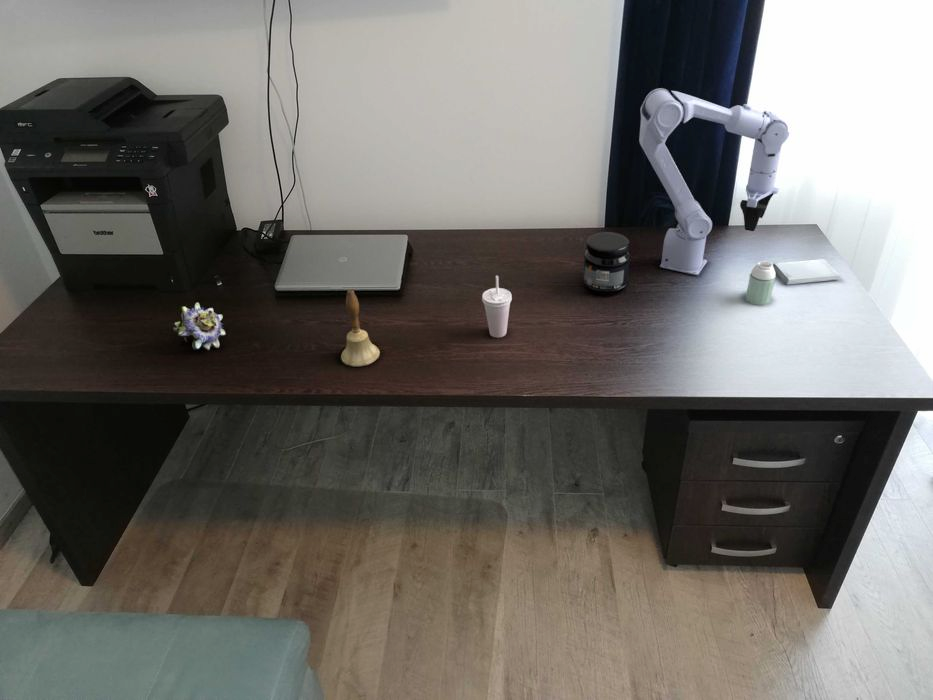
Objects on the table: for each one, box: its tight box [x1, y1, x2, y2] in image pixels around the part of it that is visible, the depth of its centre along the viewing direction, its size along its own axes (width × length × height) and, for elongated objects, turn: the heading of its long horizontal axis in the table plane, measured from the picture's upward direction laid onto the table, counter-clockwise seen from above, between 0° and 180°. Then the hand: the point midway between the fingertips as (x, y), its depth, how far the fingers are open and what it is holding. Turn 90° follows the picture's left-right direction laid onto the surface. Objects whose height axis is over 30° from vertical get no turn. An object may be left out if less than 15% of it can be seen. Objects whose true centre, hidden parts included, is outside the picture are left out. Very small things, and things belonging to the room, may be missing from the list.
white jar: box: [750, 260, 777, 280], centre depth 159 cm, size 5×3×5 cm
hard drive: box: [772, 258, 841, 285], centre depth 170 cm, size 2×8×12 cm
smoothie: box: [481, 275, 513, 338], centre depth 154 cm, size 6×6×14 cm
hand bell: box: [340, 289, 381, 368], centre depth 149 cm, size 8×8×16 cm
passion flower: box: [171, 302, 226, 351], centre depth 159 cm, size 11×11×12 cm
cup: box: [745, 273, 776, 306], centre depth 161 cm, size 5×5×6 cm
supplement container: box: [582, 231, 631, 296], centre depth 168 cm, size 10×10×12 cm
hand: (753, 223), depth 171 cm, fingers open, 7 cm apart
